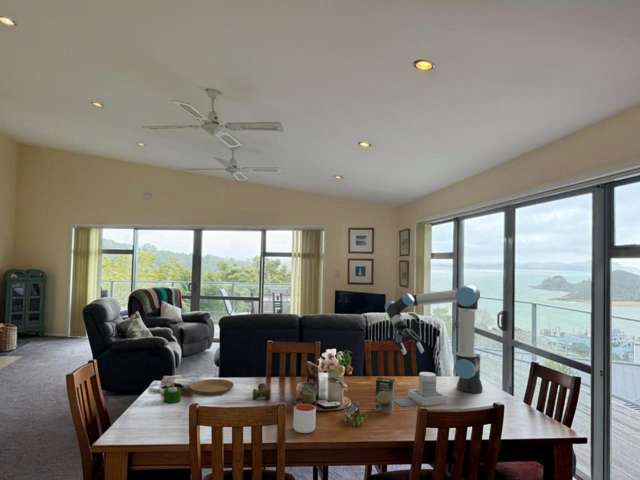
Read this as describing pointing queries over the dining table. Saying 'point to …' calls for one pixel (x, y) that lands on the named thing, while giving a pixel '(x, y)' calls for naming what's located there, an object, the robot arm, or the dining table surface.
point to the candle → (172, 395)
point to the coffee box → (384, 395)
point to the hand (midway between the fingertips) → (414, 352)
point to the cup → (304, 418)
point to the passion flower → (352, 410)
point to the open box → (427, 398)
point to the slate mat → (405, 402)
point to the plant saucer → (212, 387)
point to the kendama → (262, 392)
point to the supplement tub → (427, 384)
